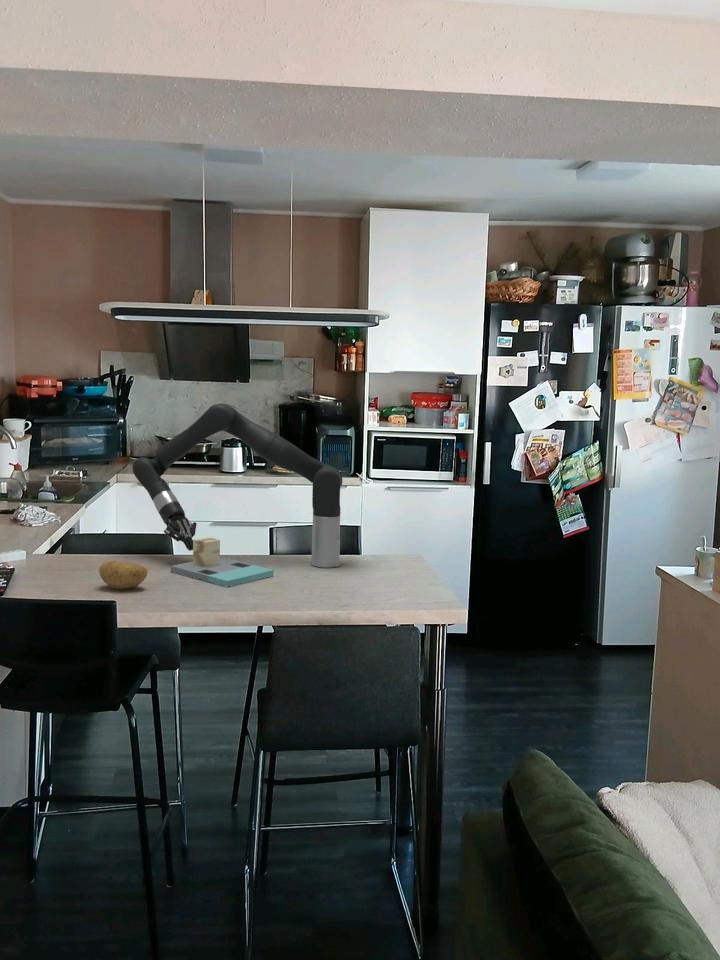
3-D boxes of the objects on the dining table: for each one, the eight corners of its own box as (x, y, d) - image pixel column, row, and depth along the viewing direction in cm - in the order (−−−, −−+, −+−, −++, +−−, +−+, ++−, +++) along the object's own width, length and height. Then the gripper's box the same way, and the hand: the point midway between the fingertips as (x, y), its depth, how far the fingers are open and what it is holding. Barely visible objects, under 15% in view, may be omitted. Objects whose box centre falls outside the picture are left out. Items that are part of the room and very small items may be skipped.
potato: (140, 594, 250) (140, 567, 249) (93, 590, 252) (93, 564, 251) (152, 585, 260) (152, 559, 259) (107, 582, 262) (107, 556, 261)
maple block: (193, 563, 281) (193, 539, 280) (207, 560, 286) (207, 537, 285) (205, 567, 277) (205, 542, 276) (219, 564, 282) (219, 539, 281)
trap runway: (170, 572, 277) (170, 565, 277) (217, 562, 293) (217, 556, 293) (227, 587, 262) (227, 580, 261) (273, 576, 277) (273, 570, 277)
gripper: (157, 502, 284) (182, 545, 278) (189, 498, 294) (213, 539, 288) (147, 516, 288) (171, 558, 282) (178, 511, 298) (202, 552, 292)
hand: (192, 548), depth 285 cm, fingers closed
